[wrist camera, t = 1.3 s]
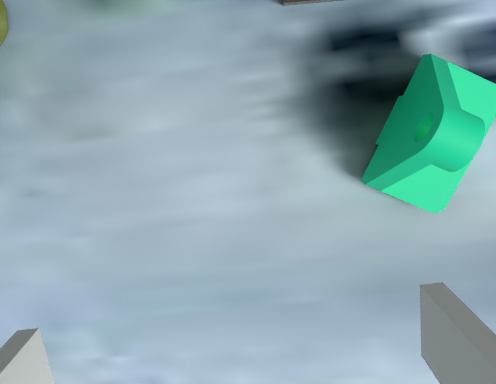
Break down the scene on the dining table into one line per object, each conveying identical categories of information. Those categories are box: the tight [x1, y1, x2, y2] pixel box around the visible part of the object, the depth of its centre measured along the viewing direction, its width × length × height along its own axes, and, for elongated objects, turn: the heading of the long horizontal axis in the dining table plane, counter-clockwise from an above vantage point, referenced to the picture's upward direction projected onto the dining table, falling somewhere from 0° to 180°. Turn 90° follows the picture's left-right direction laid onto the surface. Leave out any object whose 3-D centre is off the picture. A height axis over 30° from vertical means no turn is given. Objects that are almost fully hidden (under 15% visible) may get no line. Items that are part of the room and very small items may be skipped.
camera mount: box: [361, 54, 496, 213], centre depth 34 cm, size 12×8×10 cm, turn 157°
